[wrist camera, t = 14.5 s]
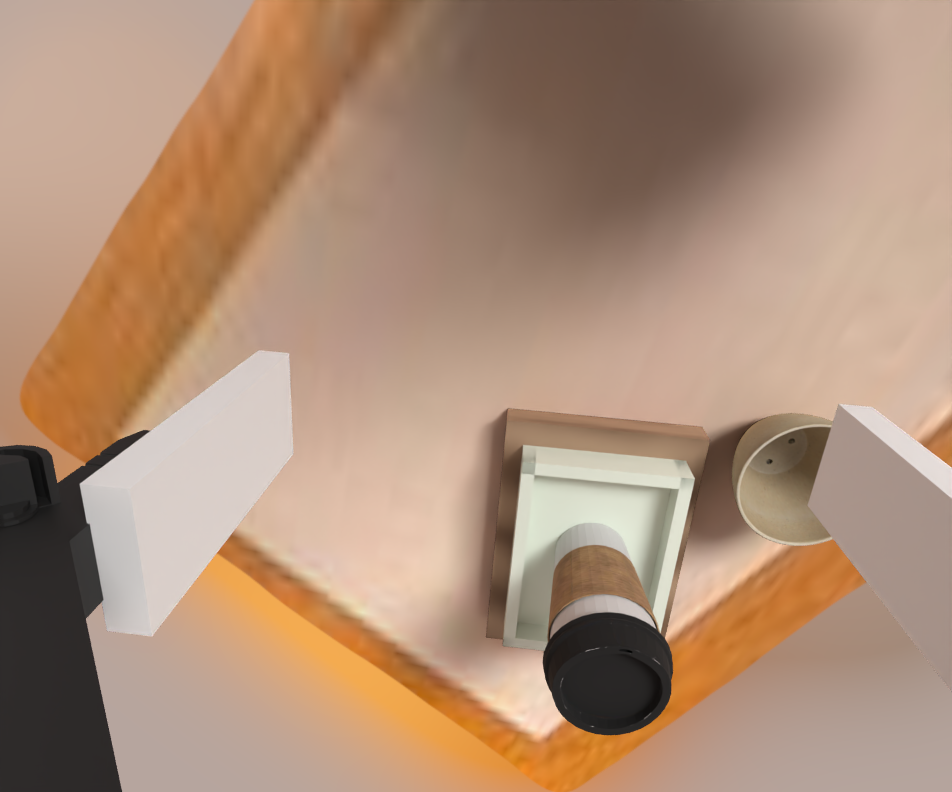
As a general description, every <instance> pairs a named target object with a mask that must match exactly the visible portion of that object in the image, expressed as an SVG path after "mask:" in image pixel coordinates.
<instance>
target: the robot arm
mask: <svg viewBox="0 0 952 792" xmlns="http://www.w3.org/2000/svg"><path fill="white" fill-rule="evenodd" d="M292 455H293V432H292V408H291V384H290V360H289V353H282V352H271V351H261V350H258V351H257V352H256V353H254V354H253V355H252V356H250V357H249V358H248V359H246V360H245V361H244V362H242V363H241V364H240V365H238V366H237V367H236V368H234V369H233V370H232V371H230V372H229V373H228V374H226V375H225V376H223V377H222V378H221V379H219V380H218V381H217V382H215V383H214V384H213V385H211V386H210V387H209V388H207V389H206V390H205V391H203V392H202V393H201V394H199V395H198V396H197V397H195V398H194V399H193V400H191V401H190V402H189V403H187V404H186V405H185V406H183V407H182V408H181V409H179V410H178V411H177V412H175V413H174V414H173V415H171V416H170V417H169V418H167V419H166V420H165V421H163V422H162V423H161V424H159V425H158V426H157V427H155V428H154V429H153V430H151V431H148V430H143V431H140V432H138V433H135V434H132V435H130V436H127V437H125V438H122V439H120V440H118V441H116V442H115V443H113V444H112V445H111V446H109V447H108V448H106V449H105V450H104V451H102V452H101V453H100V455H97V456H95V457H94V458H92V459H91V460H90V461H88V462H87V463H86V465H85V466H81V467H80V468H79V469H77V470H76V471H74V472H73V473H71V474H70V475H68V476H67V477H66V478H64V479H63V480H61V481H60V482H59V483H57V480H56V475H55V469H54V464H53V459H52V455H51V454H50V453H49V452H48V451H47V450H46V449H43V448H39V447H36V446H25V445H14V446H5V447H0V792H122V789H121V785H120V780H119V775H118V771H117V766H116V762H115V756H114V751H113V747H112V742H111V737H110V732H109V728H108V723H107V718H106V713H105V709H104V704H103V699H102V694H101V690H100V685H99V680H98V675H97V671H96V666H95V661H94V656H93V652H92V647H91V642H90V638H89V632H88V628H87V623H86V618H87V617H88V616H89V615H90V614H91V613H92V611H94V609H95V608H96V607H97V606H98V605H99V604H100V603H101V602H102V608H103V613H104V619H105V623H106V629H107V631H109V632H118V633H127V634H136V635H144V636H153V635H154V633H155V632H156V631H157V630H158V628H159V627H160V626H161V624H162V623H163V622H164V620H165V619H166V618H167V616H168V615H169V614H170V613H171V611H172V610H173V609H174V608H175V606H176V605H177V604H178V602H179V601H180V600H181V599H182V597H183V596H184V595H185V593H186V592H187V591H188V589H189V588H190V587H191V586H192V584H193V583H194V582H195V580H196V579H197V578H198V576H199V575H200V574H201V573H202V571H203V570H204V569H205V567H206V566H207V565H208V564H209V562H210V561H211V560H212V558H213V557H214V556H215V555H216V553H217V552H218V551H219V549H220V548H221V547H222V546H223V544H224V543H225V542H226V540H227V539H228V538H229V536H230V535H231V534H232V533H233V531H234V530H235V529H236V527H237V526H238V525H239V524H240V522H241V521H242V520H243V518H244V517H245V516H246V515H247V513H248V512H249V511H250V509H251V508H252V507H253V505H254V504H255V503H256V502H257V500H258V499H259V498H260V496H261V495H262V494H263V493H264V491H265V490H266V489H267V487H268V486H269V485H270V483H271V482H272V481H273V480H274V478H275V477H276V476H277V474H278V473H279V472H280V471H281V469H282V468H283V467H284V465H285V464H286V463H287V462H288V460H289V459H290V458H291V456H292ZM808 507H809V508H810V509H811V511H812V512H813V513H814V515H815V516H816V517H817V518H818V520H819V521H820V522H821V524H822V525H823V526H824V527H825V529H826V530H827V531H828V533H829V534H830V535H831V537H832V538H833V539H834V540H835V542H836V543H837V544H838V546H839V547H840V548H841V550H842V551H843V552H844V553H845V555H846V556H847V557H848V559H849V560H850V561H851V562H852V564H853V565H854V566H855V568H856V569H857V570H858V572H859V573H860V574H861V575H862V577H863V578H864V579H865V581H866V582H867V583H868V584H869V586H870V587H871V588H872V590H873V591H874V592H875V593H876V595H877V596H878V597H879V599H880V600H881V601H882V603H883V604H884V605H885V606H886V608H887V609H888V610H889V612H890V613H891V614H892V616H893V617H894V618H895V619H896V621H897V622H898V623H899V624H900V626H901V627H902V629H903V630H904V631H905V632H906V634H907V635H908V636H909V638H910V639H911V640H912V641H913V643H914V644H915V645H916V647H917V648H918V649H919V650H920V652H921V653H922V654H923V656H924V657H925V658H926V660H927V661H928V662H929V663H930V665H931V666H932V667H933V669H934V670H935V671H936V673H937V674H938V675H939V676H940V677H941V679H942V680H943V682H944V683H945V684H946V686H947V687H948V688H949V689H950V691H951V692H952V468H951V467H950V466H949V465H947V464H946V463H945V462H943V461H942V460H941V459H940V458H938V457H937V456H936V455H934V454H933V453H932V452H930V451H929V450H928V449H926V448H925V447H924V446H922V445H921V444H920V443H919V442H917V441H916V440H915V439H913V438H912V437H911V436H909V435H908V434H907V433H905V432H904V431H903V430H901V429H900V428H899V427H898V426H896V425H895V424H894V423H892V422H891V421H890V420H888V419H887V418H886V417H884V416H883V415H882V414H880V413H879V412H878V411H877V410H875V409H874V408H873V407H867V406H856V405H845V404H838V407H837V410H836V414H835V417H834V420H833V423H832V427H831V430H830V433H829V437H828V440H827V443H826V446H825V450H824V453H823V456H822V460H821V463H820V466H819V469H818V473H817V476H816V479H815V483H814V486H813V489H812V492H811V496H810V499H809V502H808Z"/></svg>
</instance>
